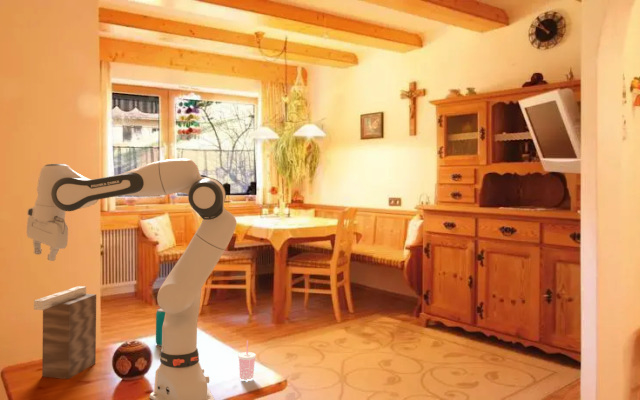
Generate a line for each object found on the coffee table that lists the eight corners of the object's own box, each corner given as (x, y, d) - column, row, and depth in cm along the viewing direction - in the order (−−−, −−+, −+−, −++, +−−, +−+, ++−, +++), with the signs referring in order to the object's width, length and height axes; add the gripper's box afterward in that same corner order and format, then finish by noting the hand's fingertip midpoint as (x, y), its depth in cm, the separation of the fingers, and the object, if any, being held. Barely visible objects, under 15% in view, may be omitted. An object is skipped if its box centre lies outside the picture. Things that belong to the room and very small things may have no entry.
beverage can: (172, 343, 224) (172, 308, 224) (166, 347, 219) (167, 311, 218) (158, 342, 225) (159, 307, 224) (153, 346, 219) (154, 310, 219)
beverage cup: (252, 375, 191) (253, 337, 190) (257, 381, 185) (258, 342, 185) (235, 377, 188) (236, 339, 187) (240, 384, 183) (241, 344, 182)
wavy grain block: (68, 379, 182) (69, 304, 181) (42, 376, 184) (42, 302, 183) (95, 363, 198) (96, 294, 197) (71, 360, 200) (71, 292, 199)
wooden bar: (42, 310, 173) (42, 301, 173) (33, 309, 173) (33, 300, 173) (86, 294, 197) (86, 286, 196) (78, 293, 197) (78, 285, 197)
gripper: (75, 219, 163) (70, 263, 164) (45, 209, 175) (39, 250, 176) (55, 219, 158) (49, 264, 159) (25, 208, 170) (19, 250, 171)
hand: (44, 257), depth 167 cm, fingers open, 8 cm apart
